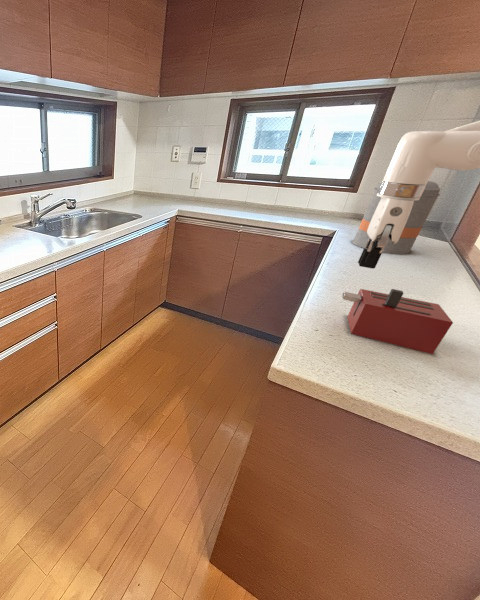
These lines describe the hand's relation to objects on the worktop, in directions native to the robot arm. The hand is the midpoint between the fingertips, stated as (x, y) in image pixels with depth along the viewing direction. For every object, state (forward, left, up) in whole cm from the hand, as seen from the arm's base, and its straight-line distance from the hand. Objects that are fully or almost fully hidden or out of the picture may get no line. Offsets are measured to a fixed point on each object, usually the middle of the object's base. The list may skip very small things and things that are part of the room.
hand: (366, 265), depth 83 cm
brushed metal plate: (0, 0, -10) cm, 10 cm away
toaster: (-10, 0, -17) cm, 20 cm away
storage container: (-22, -103, -17) cm, 107 cm away
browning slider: (-7, +3, -8) cm, 11 cm away
